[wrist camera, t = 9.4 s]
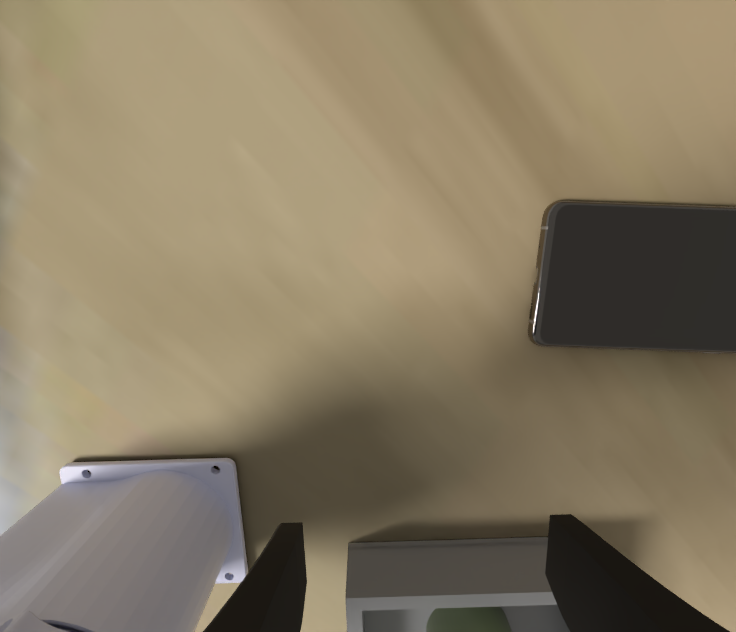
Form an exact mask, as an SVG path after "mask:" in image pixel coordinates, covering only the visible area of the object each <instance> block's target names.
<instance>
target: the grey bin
mask: <svg viewBox="0 0 736 632" xmlns="http://www.w3.org/2000/svg"><path fill="white" fill-rule="evenodd" d="M547 545H548V537H526V538H494V539H461V540H429V541H396V542H364V543H348V561H347V581H346V617H347V632H426V626H427V622H428V619H429V617H430V615H431V613H432V612H433V611H434V610H435V609H436V608H466V607H499V606H500V607H501V608H502V610H503V611H504V613H505V615H506V617H507V620H508V622H509V625H510V628H511V630H512V632H570V630H569V628H568V627H567V625H566V623H565V621H564V619H563V617H562V615H561V612H560V610H559V608H558V605H557V603H556V600H555V598H554V596H553V593H552V590H551V588H550V585H549V583H548V580H547V578H546V575H545V569H546V557H547Z"/></svg>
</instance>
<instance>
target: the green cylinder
mask: <svg viewBox="0 0 736 632" xmlns="http://www.w3.org/2000/svg"><path fill="white" fill-rule="evenodd" d="M426 632H512V630H511V628H510V625H509V622H508V620H507V617H506V615H505V613H504V611H503V610H502V608H501V607H500V606H499V607H466V608H436V609H435V610H434V611H433V612H432V613H431V615H430V617H429V619H428V622H427V626H426Z"/></svg>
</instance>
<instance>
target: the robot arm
mask: <svg viewBox="0 0 736 632" xmlns="http://www.w3.org/2000/svg"><path fill="white" fill-rule="evenodd" d="M214 466H218V467H219V468H220V470H216V469H215V468H214ZM87 470H89V471H90V472H91V473H89V472H88V471H87ZM60 478H61V482H62V485H60V486H59V487H58V488H57V489H56V490H54V491H53V492H52V493H51V494H50V495H48V496H47V497H46V498H45V499H44V500H42V501H41V502H40V503H39V504H38V505H36V506H35V507H34V508H33V509H32V510H30V511H29V512H28V513H27V514H26V515H25V516H23V517H22V518H21V519H20V520H19V521H17V522H16V523H15V524H14V525H13V526H11V527H10V528H9V529H8V530H7V531H5V532H4V533H3V534H2V535H1V536H0V632H194V631H195V629H196V627H197V624H198V622H199V620H200V617H201V615H202V613H203V610H204V608H205V605H206V603H207V601H208V598H209V596H210V594H211V591H212V589H213V587H214V584H215V583H239V582H241V584H240V585H239V586H238V588H237V589H236V591H235V592H234V593H233V595H232V596H231V597H230V598H229V600H228V601H227V602H226V604H225V605H224V606H223V607H222V609H221V610H220V611H219V613H218V614H217V615H216V616H215V618H214V619H213V620H212V622H211V623H210V624H209V625H208V626H207V628H206V629H205V630H204V631H203V632H300V630H301V625H302V618H303V610H304V601H305V592H306V584H307V578H306V565H305V551H304V538H303V525H302V523H281V524H280V525H279V526H278V527H277V529H276V531H275V532H274V534H273V536H272V537H271V539H270V541H269V542H268V544H267V545H266V547H265V548H264V550H263V552H262V553H261V555H260V556H259V558H258V559H257V561H256V562H255V564H254V565H253V567H252V568H251V569H250V571H249V572H248V566H247V557H246V549H245V540H244V531H243V523H242V514H241V506H240V497H239V488H238V480H237V471H236V465H235V462H234V461H233V460H232V459H230V458H204V459H170V460H137V461H104V462H71V463H67V464H66V465H65V466H63V467H62V468H61V469H60ZM229 573H231V574H229ZM545 575H546V578H547V580H548V583H549V585H550V588H551V590H552V593H553V596H554V598H555V600H556V603H557V605H558V608H559V610H560V612H561V615H562V617H563V619H564V621H565V623H566V625H567V627H568V628H569V630H570V632H730V631H728V630H726V629H725V628H723V627H722V626H720V625H719V624H717V623H715V622H714V621H712V620H711V619H709V618H708V617H707V616H705V615H704V614H702V613H701V612H699V611H698V610H696V609H695V608H693V607H692V606H691V605H689V604H688V603H686V602H685V601H684V600H682V599H681V598H679V597H678V596H677V595H675V594H674V593H672V592H671V591H669V590H668V589H667V588H665V587H664V586H663V585H661V584H660V583H659V582H657V581H656V580H655V579H653V578H652V577H651V576H649V575H648V574H647V573H645V572H644V571H643V570H641V569H640V568H639V567H637V566H636V565H635V564H634V563H632V562H631V561H630V560H628V559H627V558H626V557H625V556H623V555H622V554H621V553H620V552H618V551H617V550H616V549H615V548H613V547H612V546H611V545H609V544H608V543H607V542H606V541H604V540H603V539H602V538H601V537H599V536H598V535H597V534H596V533H594V532H593V531H592V530H591V529H589V528H588V527H587V526H586V525H584V524H583V523H582V522H581V521H579V520H578V519H577V518H575V517H574V516H573V515H571V514H567V515H550V522H549V534H548V545H547V557H546V569H545Z"/></svg>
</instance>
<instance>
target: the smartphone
mask: <svg viewBox="0 0 736 632" xmlns="http://www.w3.org/2000/svg"><path fill="white" fill-rule="evenodd" d="M536 268H538V272H537V280H536V283H534V286H533V294H532V302H533V303H531V305H533V306H531V310H530V317H529V325H528V336H529V338H530V340H531V341H532V342H533V343H534V344H536V345H539V346H547V347H574V348H601V349H628V350H655V351H682V352H702V353H716V354H721V353H736V207H725V206H697V205H670V204H642V203H615V202H587V201H556V202H553V203H552V204H550V205H549V206H548V207H547V208H546V209H545V211H544V214H543V218H542V225H541V232H540V240H539V248H538V256H537V263H536Z"/></svg>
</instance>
